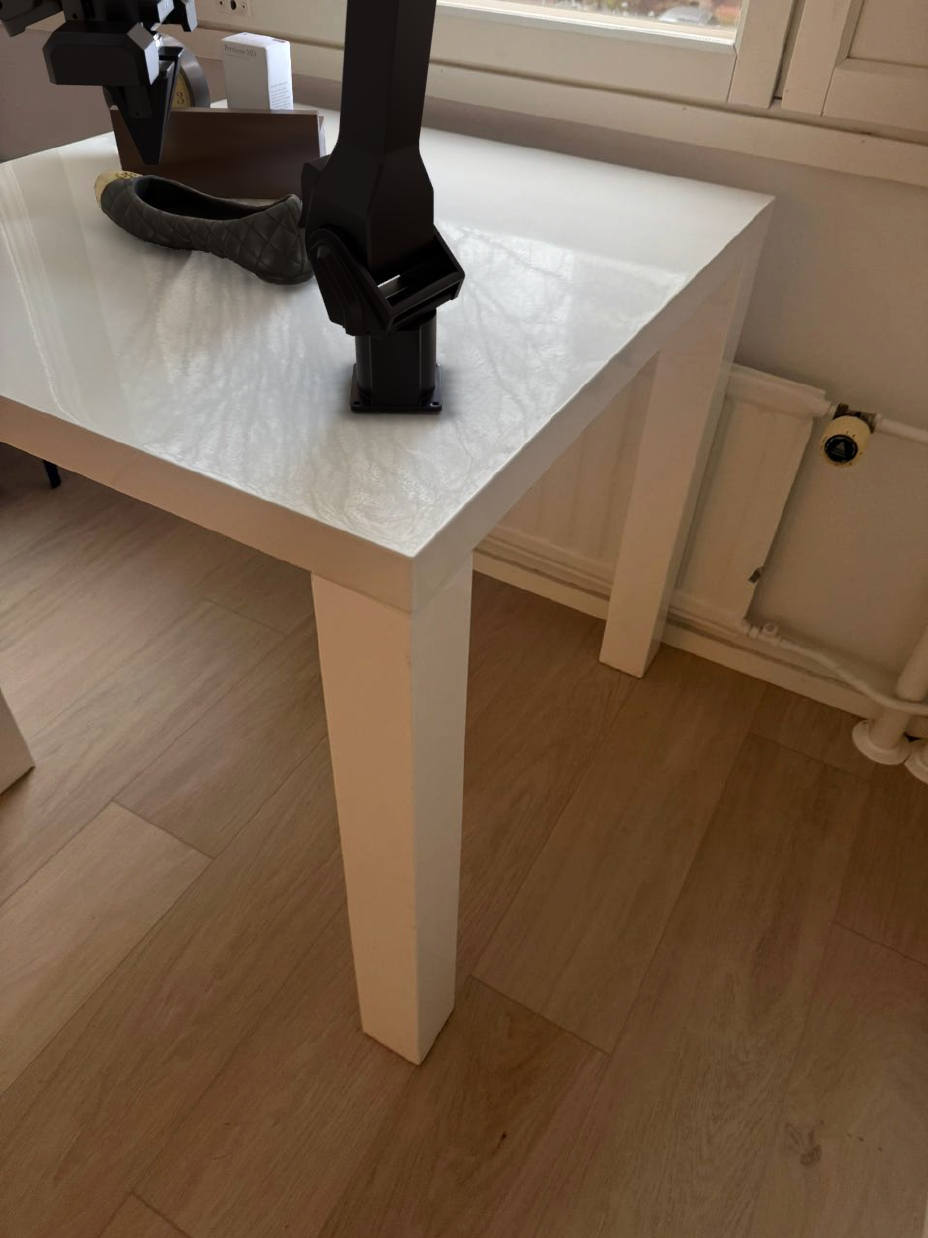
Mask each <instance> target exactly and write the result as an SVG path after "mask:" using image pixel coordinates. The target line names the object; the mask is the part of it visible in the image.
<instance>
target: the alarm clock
mask: <svg viewBox="0 0 928 1238" xmlns="http://www.w3.org/2000/svg"><path fill="white" fill-rule="evenodd" d="M158 34H159V35H162V40H163V46H180V47H183V48H184V56H183V58H182V62H181V66H180V71H179V75H178V80H177V84H176V89H175V94H174V98H173V103H172V107H198V108H211V104H212V103H211V93H210V87H209V83H208V79H207V77H206V75H205V72H204V69H203V68H202V66H201V65H200V63H199V62H198V60H197V58H196V57H195V56H194V54H193V53H192V52H191V51H190V50H189V49H188V47H187V46H185V45H184V44H183V43H182V42H181V41H180V40H178V39H176V38H175V37H173V36H171V35H168V34H166V33H162V32H160V31H158ZM101 89H102V94H103V97H104V101H105V105H106V107H107V109H108V111H109V109H110V108H111V107H112V106H113V105H115V106H116V104H115V102H114V100H113V98H112V96H111V94H110V93H109V92H108V90H106V89H105V88H104V87H103V86H101ZM109 113H110V111H109Z"/></svg>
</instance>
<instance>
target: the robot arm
mask: <svg viewBox="0 0 928 1238" xmlns="http://www.w3.org/2000/svg"><path fill="white" fill-rule="evenodd" d="M437 1H438V0H346V9H345V23H344V24H345V25H344V41H343V57H342V58H343V59H342V75H341V76H342V77H341V92H340V105H339V106H340V109H339V123H338V124H339V125H338V126H339V127H338V135H337V140H336V142H335V145H334V147H333V148H332V150H331V152H330V153H329V154H326V155H325V156H323V157H320V158H317V159H314V160H312V161H309V162H306V163H304V165H303V169H302V174H301V189H302V199H301V204H302V211H301V216H300V218H299V221H298V223H297V226H298V228H299V229H303V228H305V235H304V239H305V249H306V253H307V257H308V260H309V261H310V262H311V265H312V268H313V271H314V274H315V275H314V276H315V280H316V283H317V287H318V289H319V292H320V296H321V299H322V301H323V304H324V307H325V311H326V313H327V317H328V319H329V322H331V323H333V324H336V325H339V326H341V327H342V329H344V331H345V335H348V336H351V337H354V348H355V349H354V350H355V362H354V363H353V366H352V375H351V386H350V398H349V409H350V411H352V412H355V413H440V412H442V411H443V389H442V388H443V387H442V371H441V369H442V367H441V364H440V363H437V336H438V335H437V333H438V332H437V330H438V329H437V328H438V327H437V326H438V325H437V324H438V321H437V320H438V311H437V308H439V307H441V306H443V305H444V304H446V303H448V302H449V301H454V300H456V299H457V298H458V297H459V296H460V293H461V290H462V287H463V284H464V281H465V279H466V271H465V270H464V269H463V267H462V265H461V264H460V262H459V261H458V259H457V258H456V256H455V254H454V253H453V252H452V250H451V248H450V246H449V245H448V243H447V242H446V241H445V239H444V237H443V235H442V234H441V233H440V231H439V229H438V228H437V226H436V225H435V189H434V185H433V182H432V180H431V177H430V175H429V172H428V169H427V166H426V164H425V161H424V159H423V155H422V153H421V149H420V142H421V141H420V140H421V131H422V124H423V123H422V122H423V115H424V108H425V98H426V91H427V83H428V82H427V81H428V74H429V66H430V59H431V52H432V51H431V50H432V42H433V34H434V26H435V19H436V11H437ZM61 12H63V16H64V21H65V22H63V23H62V24H61V25H59V26H58V27H57V28H55V29H54V30H53V31H52V32H51V34H50V35H49V37H48V38H47V40H46V42H45V43H44V44H43V46H42V47H41V51H42V55H43V59H44V63H45V67H46V71H47V76H48V80H49V83H51V84H54V85H56V86H85V87H87V86H88V87H102V86H103V87H104V88H105V89H106V90H108V92H109V93H110V94H111V96H112V98H113V100H114V102H115V104H116V106H117V108H118V110H119V112H120V114H121V116H122V118H123V120H124V122H125V124H126V127H127V129H128V131H129V133H130V135H131V137H132V139H133V142H134V144H135V146H136V148H137V150H138V152H139V154H140V157H141V159H142V161H143V163H144V164H146V165H158V164H159V162H160V161H161V157H162V152H163V147H164V142H165V137H166V132H167V127H168V122H169V117H170V112H171V108H172V103H173V98H174V94H175V89H176V84H177V80H178V75H179V71H180V66H181V62H182V58H183V56H184V48H183V47H180V46H163V40H162V35H159V34H158V32H159V31H158V30H157V29H158V28H159V27H160V26H161V25H165V26H166V25H167V26H168V25H180V26H181V28H182V31H183V33H192V32H194V30H195V29H196V27H197V26H198V20H197V19H198V18H197V11H196V5H195V0H0V23H1V25H2V27H3V28H4V30H5V32H6V34H7V35H8V37H9V38H12V37H15V36H16V37H17V36H19V35H20V34H24V33H25V31H26V28H27V27H30V26H33V25H35V24H37V23H39V22H41V21H43V20H45V19H48V18H50V17H53V16H55V15H58V14H59V13H61Z"/></svg>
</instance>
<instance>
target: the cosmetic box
mask: <svg viewBox="0 0 928 1238" xmlns="http://www.w3.org/2000/svg"><path fill="white" fill-rule="evenodd" d="M220 48H221V58H222V68H223V76H224V77H223V78H224V85H225V96H226V108H240V109H282V110H294V101H293V97H294V96H293V82H292V81H293V80H292V65H291V62H292V61H291V44H290V41H287V40H283V39H279V38H275V37H272V36H268V35H261V34H256V33H251V32H246V31H245V32H240V33H237V34H233V35H230V36H226V37H224V38H221V39H220Z"/></svg>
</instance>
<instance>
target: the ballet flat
mask: <svg viewBox="0 0 928 1238" xmlns="http://www.w3.org/2000/svg"><path fill="white" fill-rule="evenodd" d="M93 192H94V197H95V201H96V204H97V206H98V208H99V209H100V210H101V212H102V213H103V214H105V215H106V217H108V218H109V220H111V221H112V222H113V223H114V224H115V225H116V226H118V227H119V228H120V229H122V230H123V231H125V233H127V234H129V235H130V236H132V237H134V238H136V239H137V240H140V241H143V242H145V243H148V244H151V245H155V246H158V247H162V248H165V249H170V250H178V251H188V252H201V253H205V254H212V255H213V256H214V257H217V258H220V259H226V260H229V261H231V262H233V263H234V264H236V265H238V266H240V267H241V268H242V269H244V270H246V271H248V272H249V273H251V274H253V275H255V276H256V277H257V278H258V279H259V280H261V281H262V282H266V283H269V284H272V285H276V286H296V285H300V284H302V283H303V284H304V283H305V282H308V281H310V280H311V279H313V278H314V276H315V274H314V271H313V268H312V265H311V262H310V261H309V260H308V257H307V253H306V249H305V239H304V235H305V228H303V229H299V228H298V226H297V223H298V221H299V218H300V216H301V211H302V202H301V199H299V198H298V197H297V196H296V195H294V194H290V195H287V196H286V197H285V198H282V199H275V201H274V202H272V203H269V204H267V203H266V204H261V205H255V204H251V203H243V202H240V201H237V200H234V199H226V198H220V197H213V196H210V195H207V194H204V193H201V192H199V191H198V190H195V189H193V188H190V187H188V186H185V185H183V184H181V183H179V182H176V181H173V180H168V179H165V178H160V177H158V176H153V175H148V176H142V175H139V174H135V173H133V172H128V171H122V169H121V170H119V169H115V170H114V169H112V170H107V171H106V170H105V171H104V172H102V173H101V174H100V175H98V176H97V178H96V180H95V182H94V185H93Z"/></svg>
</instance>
